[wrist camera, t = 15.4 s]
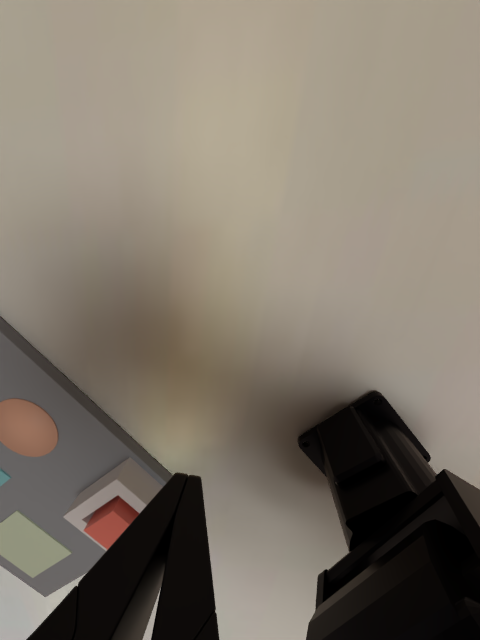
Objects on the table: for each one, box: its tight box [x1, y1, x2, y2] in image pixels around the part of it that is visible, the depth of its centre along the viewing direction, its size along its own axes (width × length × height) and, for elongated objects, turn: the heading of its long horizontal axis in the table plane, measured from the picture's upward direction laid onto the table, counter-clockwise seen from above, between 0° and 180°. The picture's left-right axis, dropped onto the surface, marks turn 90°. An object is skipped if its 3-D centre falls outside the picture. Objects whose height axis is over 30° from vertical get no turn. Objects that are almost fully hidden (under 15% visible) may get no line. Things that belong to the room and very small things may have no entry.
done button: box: [83, 495, 139, 550], centre depth 18 cm, size 3×3×2 cm
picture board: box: [0, 317, 172, 597], centre depth 19 cm, size 22×20×3 cm
